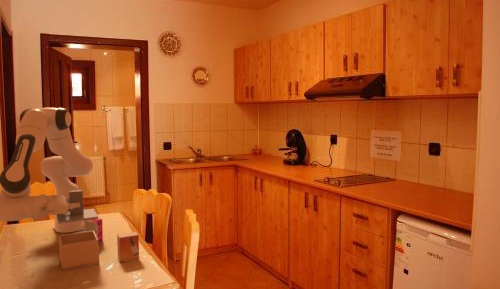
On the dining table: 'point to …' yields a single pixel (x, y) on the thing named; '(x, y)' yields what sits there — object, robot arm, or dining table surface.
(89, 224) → the supplement box
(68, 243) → the large tan box
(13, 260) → the dining table surface
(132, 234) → the small box
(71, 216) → the grey plate with knob
